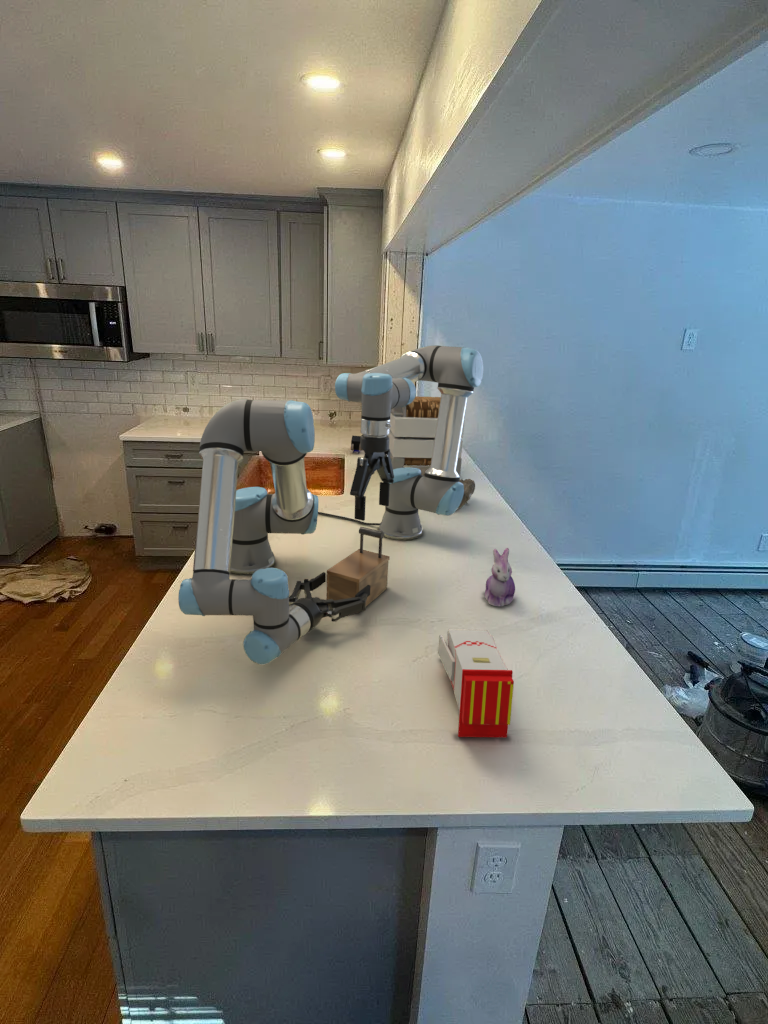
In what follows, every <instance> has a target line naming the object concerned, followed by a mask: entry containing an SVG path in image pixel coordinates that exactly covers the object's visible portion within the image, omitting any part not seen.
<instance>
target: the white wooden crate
mask: <svg viewBox="0 0 768 1024" xmlns="http://www.w3.org/2000/svg"><path fill="white" fill-rule="evenodd" d="M440 400H441V396H417V395H416V396H415V399H414V400H413V402H411V403H410V404H408V405H406V406H403V407H398V408H393V409H391V414H390V424H391V427H390V433H389V434H388V436H389V449H390V458H391V463H392V468H393V469H397V468H405V466H406V467H409V466H411V467H415V466H416V467H417V466H418V467H430V466H431V459H432V453H433V446H434V439H435V433H436V426H437V419H438V413H439V406H440ZM464 422H465V419H464ZM464 429H465V423H464V424H463V430H462V436H461V443H460V449H459V455H458V461H457V468H456V471H457V473H458V474H459V476H460V478H459V480H461V472H462V461H463V460H462V453H463V442H464V441H463V440H462V439H463V438H464V431H465V430H464Z"/></svg>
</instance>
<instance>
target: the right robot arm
mask: <svg viewBox="0 0 768 1024" xmlns="http://www.w3.org/2000/svg"><path fill="white" fill-rule="evenodd" d="M482 357H483V356H482V355H481V353H480V352H479V350H477V349H475V348H471V347H466V346H449V345H427V346H423V347H418V348H416V349H413V350H410V351H407V352H404V353H403V354H401V356H400V357H399V358H396V359H394V360H391V361H388V362H386V363H383V364H380V365H377V366H374V367H372V368H369V369H366V370H364V371H360V372H357V373H351V372H343V373H340V374H339V375H338V376H337V378H336V380H335V383H334V387H335V388H334V392H335V395H336V396H337V398H338V399H339V400H341V401H347V402H350V403H351V402H353V403H360V404H361V415H360V434H361V435H360V436H361V439H360V448H361V449H362V451H363V452H364V455H363V457H361V456H358V457H357V460H356V467H355V472H354V476H353V479H352V484H351V487H350V491H349V495H350V496H352V497H353V496H354V518H350V517H347V516H342V515H338V514H331V513H326V512H321V511H318V515H322V516H326V517H330V518H331V517H333V518H336V519H340V520H341V519H342V520H346V521H351V522H355V523H357V524H361V525H365V526H378V531H382V532H384V537H383V538H387V539H389V540H395V541H410V540H415V539H418V538H420V537H421V536H422V535H423V525H422V524H421V518H420V515H419V510H420V511H425V512H429V513H433V514H436V515H438V516H439V515H442V516H447V517H448V516H452V515H453V514H454V513H456V511H457V510H458V507H459V505H460V503H461V501H462V498H463V494H464V485H463V484H462V483H461V482H459V478H460V479H461V475H460V476H459V474H458V473H457V471H456V468H457V461H458V455H459V449H460V443H461V440H462V438H461V436H462V430H463V424H464V425H465V421H464V420H465V416H466V411H467V405H468V398H469V397H470V396H472V394H474V392H475V391H474V390H475V388H478V387H480V385H481V383H482V381H483V377H484V362H483V358H482ZM418 381H420V382H432V383H437V390H438V391H439V393H440V397H441V400H440V406H439V413H438V419H437V426H436V433H435V439H434V446H433V453H432V459H431V465H430V466H429V468H427V469H426V470H424V474H422V470H421V468H419V467H413V466H411V467H409V466H406V467H404V468H397V469H393V468H392V463H391V458H390V449H389V436H388V434H389V433H390V427H391V424H390V414H391V409H393V408H398V407H403V406H406V405H408V404H410V403H411V402H413V400H414V399H415V397H417V388H416V385H415V384H414V383H416V382H418ZM375 472H377V474H378V476H379V478H380V482H379V491H378V493H379V495H378V505H379V506H383V507H384V508H385V509H384V513H383V515H382V519H381V522H365V520H366V502H367V501H366V498H367V496H366V495H365V494H366V491H367V490H368V489H367V488H368V486H369V484H370V480H371V479H372V478H371V477H372V475H374V474H375Z"/></svg>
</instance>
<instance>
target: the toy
mask: <svg viewBox="0 0 768 1024" xmlns="http://www.w3.org/2000/svg"><path fill="white" fill-rule="evenodd" d="M446 640H447V643H446V641H445V639H444V636H443V635H442V634H439V637H438V646H437V656H438V657H439V659H440V661H441V663H442V666H443V668H444V670H445V672H446V674H447V677H448V679H449V681H450V684H451V687H452V690H453V693H454V697H455V701H456V705H457V708H458V711H459V714H458V715H459V716H458V730H457V731H458V732H457V737H458V738H508V731H509V726H510V725H511V717H512V707H513V697H514V696H513V695H514V684H515V680H514V679H513V673H514V671H513V670H512V669H508V667H507V665H506V662H505V661H504V659H503V658H502V655H501V653H500V651H499V649H498V647H497V643H496V639H495V637H494V635H493V634H491V632H490V631H489V629H467V628H466V629H465V628H463V629H461V628H460V629H459V628H448V630H447V639H446Z"/></svg>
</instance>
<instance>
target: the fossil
mask: <svg viewBox="0 0 768 1024" xmlns="http://www.w3.org/2000/svg"><path fill="white" fill-rule="evenodd" d="M459 482H461V483H462V484H463V485H464V494H463V498H462V501H461V503H460V505H459V507H458V509H462V507H463V506H465V505H468V504H469V503H468V502H469V501H470V500H471V497H472V496H473V495H474V494H475V490H476V483H475V480H473V479H471V478H466V479H463V478H460V480H459ZM458 509H457V510H458Z"/></svg>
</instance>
